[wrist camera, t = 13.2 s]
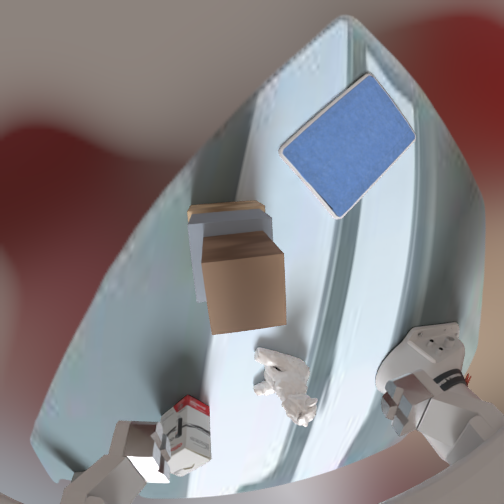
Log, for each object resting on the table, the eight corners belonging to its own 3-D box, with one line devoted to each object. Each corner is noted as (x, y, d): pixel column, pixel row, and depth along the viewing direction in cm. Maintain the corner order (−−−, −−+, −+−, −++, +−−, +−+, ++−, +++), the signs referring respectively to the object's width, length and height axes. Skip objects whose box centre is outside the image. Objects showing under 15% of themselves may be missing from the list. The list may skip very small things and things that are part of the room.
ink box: (187, 393, 42) (185, 448, 31) (210, 405, 43) (214, 460, 32) (159, 416, 43) (153, 467, 31) (181, 427, 44) (180, 478, 33)
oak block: (255, 200, 35) (264, 205, 30) (258, 261, 38) (267, 278, 32) (190, 205, 34) (187, 211, 29) (196, 267, 37) (195, 284, 31)
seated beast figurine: (253, 344, 41) (269, 400, 29) (308, 339, 42) (338, 389, 31) (252, 390, 43) (265, 444, 32) (302, 384, 45) (325, 434, 33)
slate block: (259, 208, 30) (271, 217, 24) (262, 272, 32) (274, 294, 26) (191, 214, 29) (187, 224, 23) (198, 278, 31) (197, 302, 25)
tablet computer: (334, 221, 38) (339, 223, 37) (273, 152, 34) (276, 151, 33) (413, 138, 36) (419, 138, 35) (365, 72, 33) (370, 70, 31)
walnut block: (262, 230, 24) (283, 253, 17) (266, 285, 25) (286, 324, 19) (203, 237, 23) (201, 263, 17) (210, 292, 25) (212, 334, 18)
